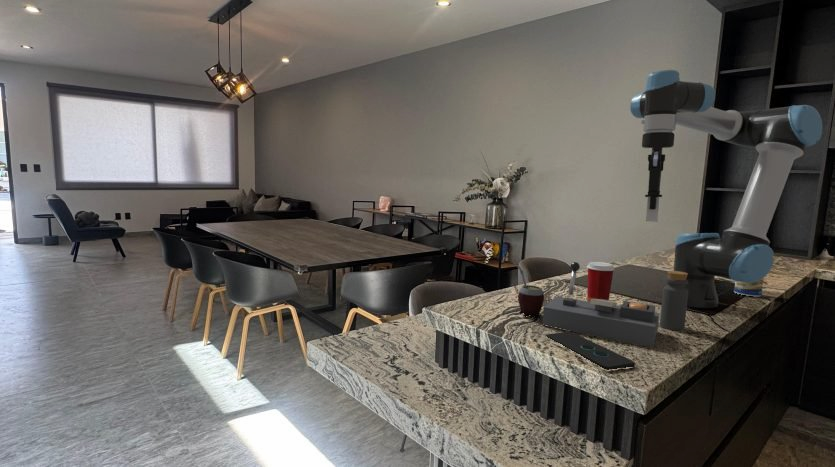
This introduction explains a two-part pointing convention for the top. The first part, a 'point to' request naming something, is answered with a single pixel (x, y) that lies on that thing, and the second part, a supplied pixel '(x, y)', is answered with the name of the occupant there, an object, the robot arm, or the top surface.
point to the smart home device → (592, 351)
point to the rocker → (603, 302)
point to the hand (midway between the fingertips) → (651, 221)
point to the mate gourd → (530, 298)
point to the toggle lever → (573, 276)
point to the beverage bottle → (749, 288)
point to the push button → (638, 306)
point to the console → (604, 320)
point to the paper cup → (599, 280)
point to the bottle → (674, 301)
